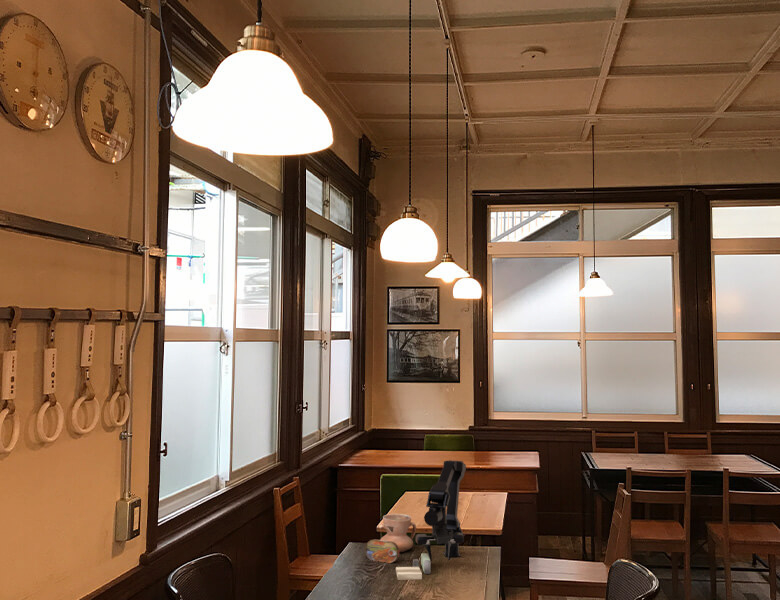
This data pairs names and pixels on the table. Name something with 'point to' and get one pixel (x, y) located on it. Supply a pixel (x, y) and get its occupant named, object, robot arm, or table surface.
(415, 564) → the leg stop
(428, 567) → the stool leg
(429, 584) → the table surface
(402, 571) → the stool seat
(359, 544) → the table surface
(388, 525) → the ceramic jug
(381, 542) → the tin
